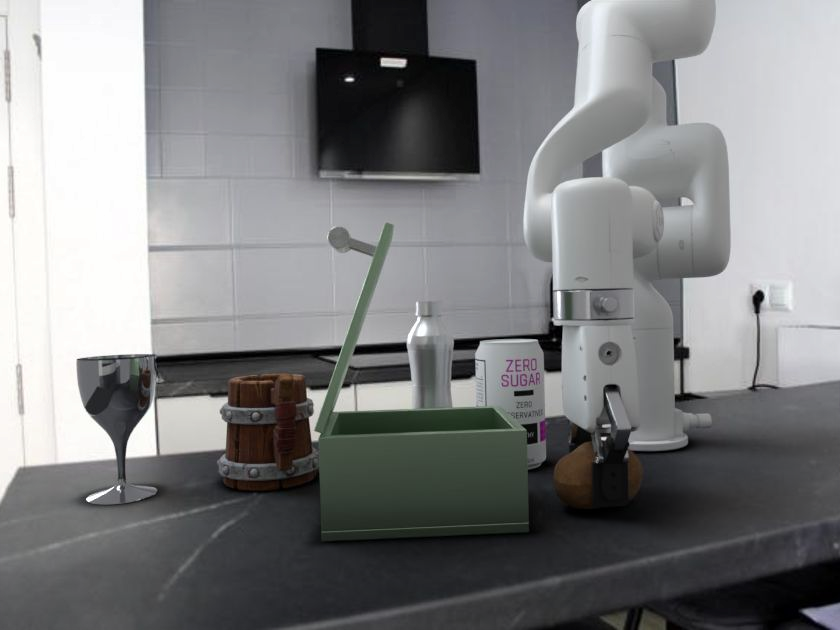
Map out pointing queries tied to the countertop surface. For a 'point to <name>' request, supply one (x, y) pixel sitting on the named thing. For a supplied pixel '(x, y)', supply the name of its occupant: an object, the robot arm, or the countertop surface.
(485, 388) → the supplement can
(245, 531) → the countertop surface
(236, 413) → the mug
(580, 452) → the potato
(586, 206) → the robot arm
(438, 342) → the silver metal bottle
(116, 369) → the wine glass
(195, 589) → the countertop surface
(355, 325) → the lid
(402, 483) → the green box
